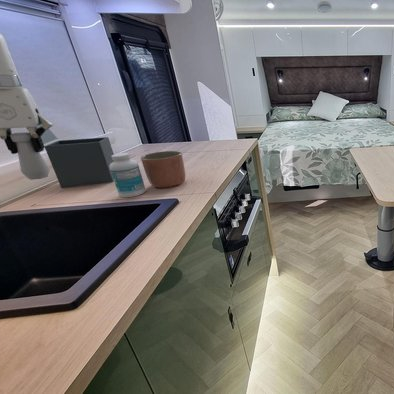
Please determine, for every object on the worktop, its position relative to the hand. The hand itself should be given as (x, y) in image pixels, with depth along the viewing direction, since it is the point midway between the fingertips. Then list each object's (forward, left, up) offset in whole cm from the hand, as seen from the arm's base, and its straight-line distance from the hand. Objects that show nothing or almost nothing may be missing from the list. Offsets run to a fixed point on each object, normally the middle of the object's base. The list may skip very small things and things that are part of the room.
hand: (28, 151), depth 82 cm
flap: (-5, +25, +2) cm, 25 cm away
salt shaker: (0, 0, -8) cm, 8 cm away
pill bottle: (+21, +1, -17) cm, 27 cm away
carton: (+4, +25, -17) cm, 30 cm away
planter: (+31, +7, -17) cm, 36 cm away
